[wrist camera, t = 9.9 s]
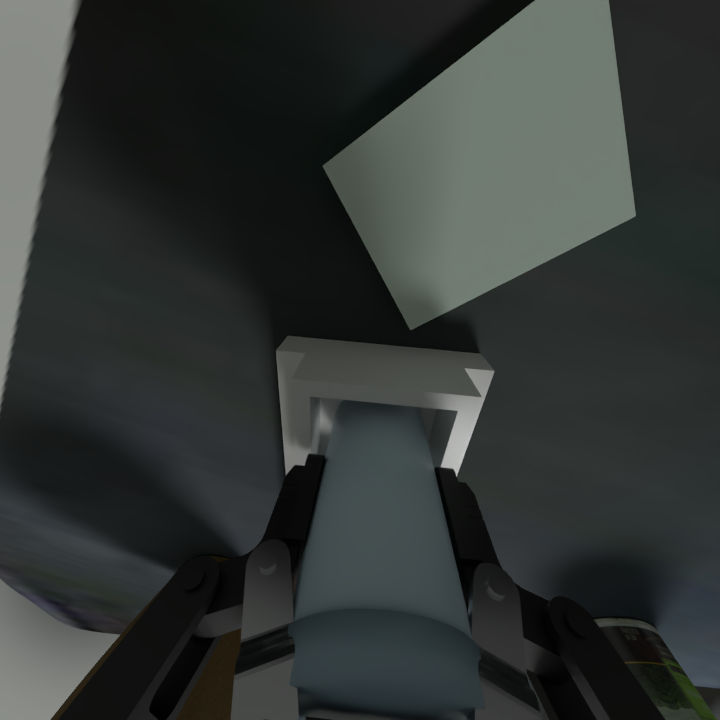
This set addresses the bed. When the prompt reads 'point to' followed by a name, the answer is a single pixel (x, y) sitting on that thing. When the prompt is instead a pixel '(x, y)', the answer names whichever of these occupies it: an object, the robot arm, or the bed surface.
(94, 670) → the plant pot
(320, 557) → the blue-grey elongated rounded piece
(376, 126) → the mat
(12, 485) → the bed surface
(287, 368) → the housing
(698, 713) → the coffee can
